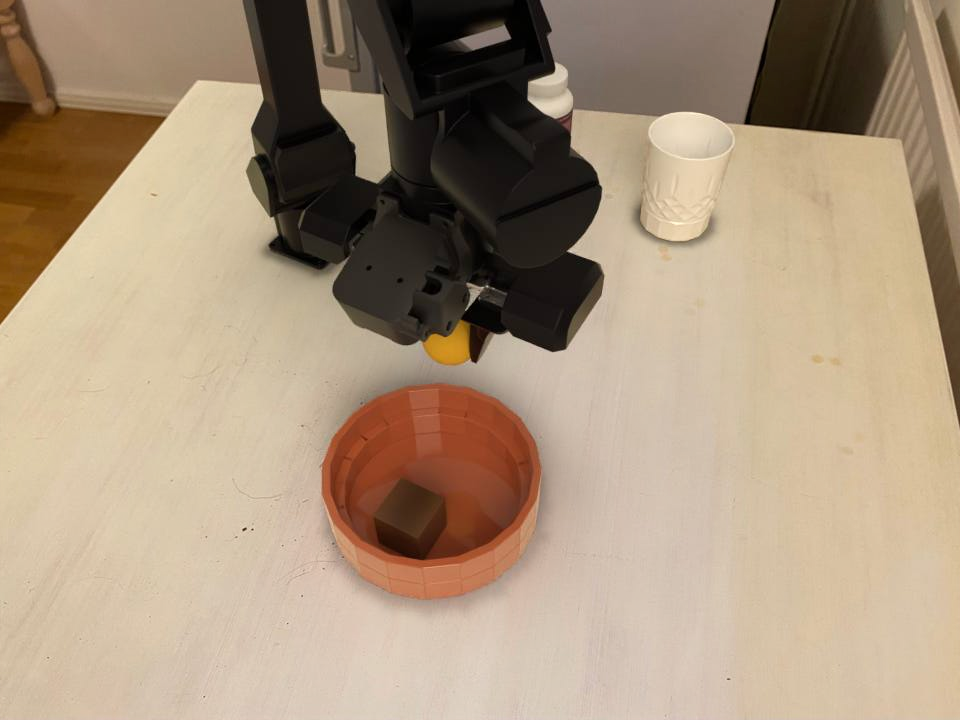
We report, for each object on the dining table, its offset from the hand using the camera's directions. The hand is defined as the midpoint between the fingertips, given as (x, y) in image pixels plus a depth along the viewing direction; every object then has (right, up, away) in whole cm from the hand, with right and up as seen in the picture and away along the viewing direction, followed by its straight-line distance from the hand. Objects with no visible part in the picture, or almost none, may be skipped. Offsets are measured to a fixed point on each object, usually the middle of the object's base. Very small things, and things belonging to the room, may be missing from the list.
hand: (450, 347), depth 56 cm
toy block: (-3, -13, +2) cm, 14 cm away
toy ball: (0, -1, +1) cm, 1 cm away
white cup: (+22, +13, +26) cm, 36 cm away
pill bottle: (+8, +20, +32) cm, 39 cm away
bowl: (-1, -12, +4) cm, 12 cm away
